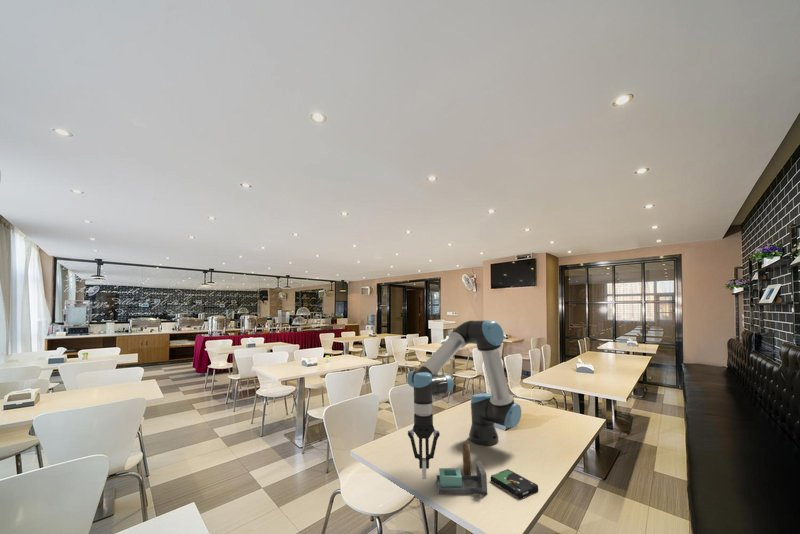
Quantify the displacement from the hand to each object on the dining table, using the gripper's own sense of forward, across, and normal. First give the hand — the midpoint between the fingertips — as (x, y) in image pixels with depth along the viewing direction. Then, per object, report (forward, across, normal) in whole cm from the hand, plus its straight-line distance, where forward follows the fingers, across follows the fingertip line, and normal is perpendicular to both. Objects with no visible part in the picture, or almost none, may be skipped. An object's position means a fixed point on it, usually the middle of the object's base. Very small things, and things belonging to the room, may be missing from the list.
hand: (424, 477), depth 124 cm
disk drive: (+4, -35, -1) cm, 35 cm away
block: (+2, -10, 0) cm, 10 cm away
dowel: (+3, -18, -9) cm, 21 cm away
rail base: (+3, -14, 0) cm, 15 cm away
